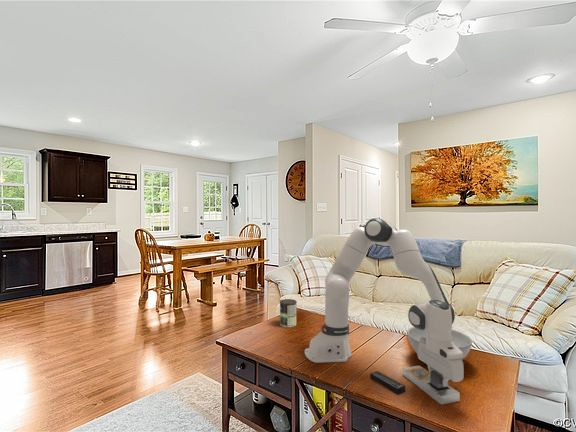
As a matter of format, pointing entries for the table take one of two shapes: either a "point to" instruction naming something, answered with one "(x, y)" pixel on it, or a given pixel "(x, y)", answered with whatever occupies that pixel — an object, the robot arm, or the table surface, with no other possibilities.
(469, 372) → the table surface
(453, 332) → the decorative bowl
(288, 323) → the coffee can
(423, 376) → the rail
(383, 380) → the multiport hub
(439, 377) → the square peg
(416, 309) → the robot arm
